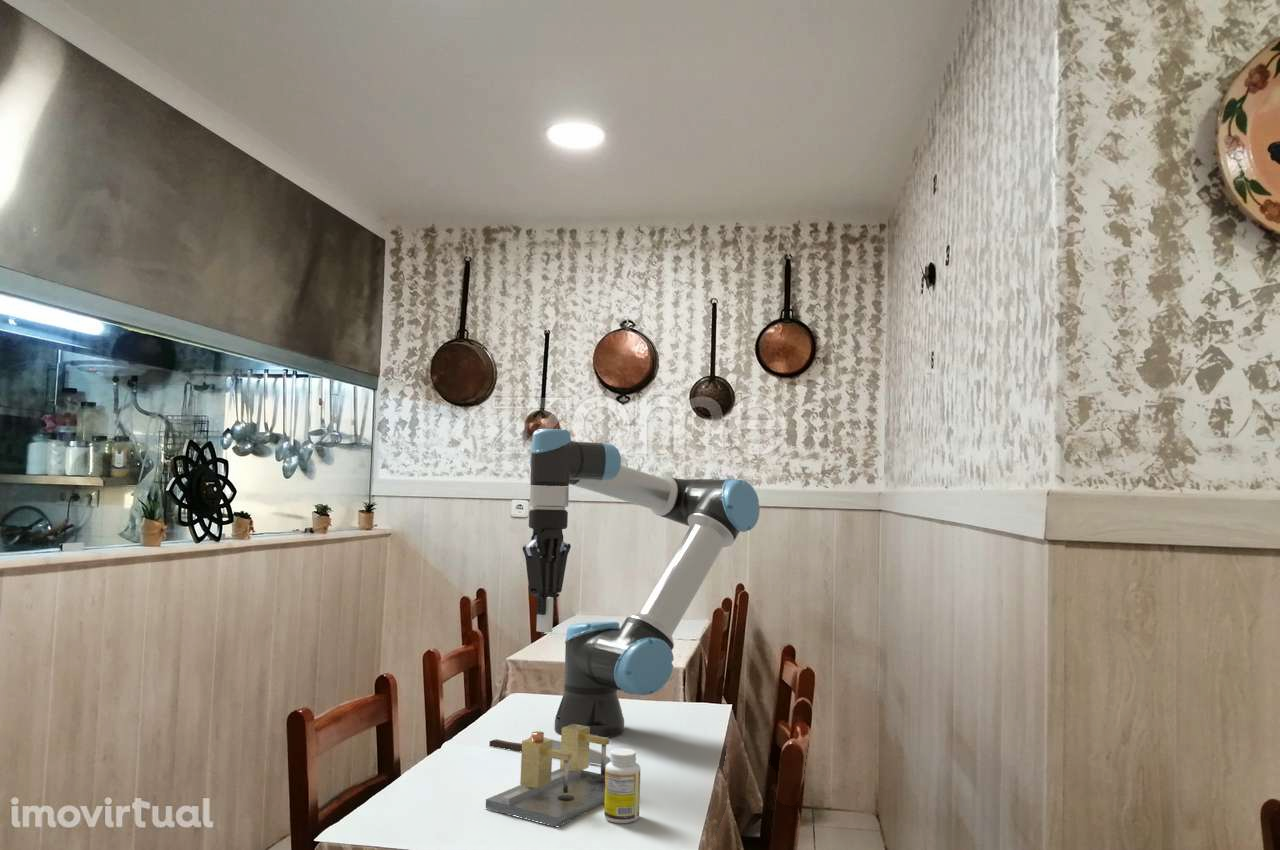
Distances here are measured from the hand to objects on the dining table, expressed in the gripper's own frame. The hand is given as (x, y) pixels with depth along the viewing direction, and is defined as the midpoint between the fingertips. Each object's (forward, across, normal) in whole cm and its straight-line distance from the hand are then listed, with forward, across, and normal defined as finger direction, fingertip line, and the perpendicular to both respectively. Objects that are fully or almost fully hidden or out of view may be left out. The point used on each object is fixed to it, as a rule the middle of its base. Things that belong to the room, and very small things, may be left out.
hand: (544, 631), depth 171 cm
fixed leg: (+22, +7, +15) cm, 27 cm away
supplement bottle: (+25, +17, +28) cm, 41 cm away
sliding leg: (+22, +19, +15) cm, 32 cm away
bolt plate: (+24, +15, +16) cm, 33 cm away
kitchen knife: (+25, -4, +1) cm, 25 cm away
